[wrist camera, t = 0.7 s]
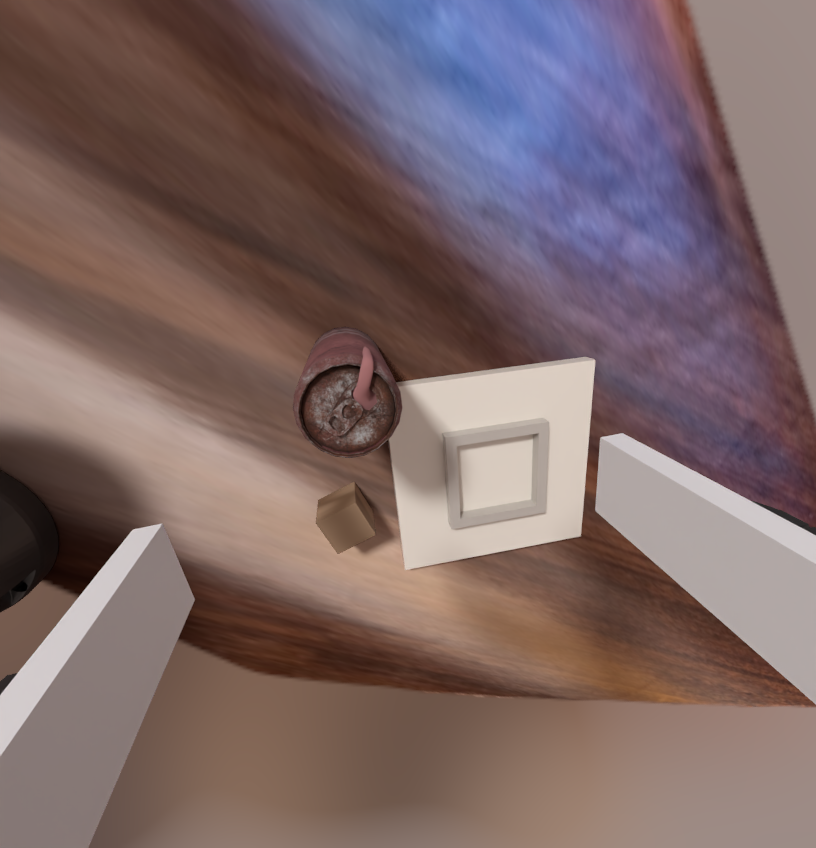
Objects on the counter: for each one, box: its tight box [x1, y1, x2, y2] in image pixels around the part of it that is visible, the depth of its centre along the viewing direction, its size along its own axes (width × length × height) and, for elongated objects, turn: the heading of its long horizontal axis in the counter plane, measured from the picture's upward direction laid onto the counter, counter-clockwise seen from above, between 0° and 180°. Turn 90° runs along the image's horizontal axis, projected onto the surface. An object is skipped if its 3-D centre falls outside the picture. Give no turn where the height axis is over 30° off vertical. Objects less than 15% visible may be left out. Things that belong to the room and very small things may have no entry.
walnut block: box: [316, 482, 376, 554], centre depth 37 cm, size 4×4×4 cm
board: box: [388, 357, 595, 570], centre depth 39 cm, size 20×20×3 cm
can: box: [293, 327, 402, 458], centre depth 27 cm, size 6×6×14 cm
